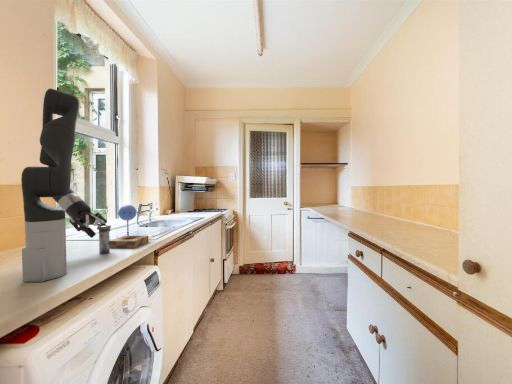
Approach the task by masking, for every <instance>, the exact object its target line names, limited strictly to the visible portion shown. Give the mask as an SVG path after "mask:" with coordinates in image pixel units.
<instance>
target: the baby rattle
mask: <svg viewBox="0 0 512 384" xmlns="http://www.w3.org/2000/svg"><path fill="white" fill-rule="evenodd" d="M117 214H118V217H119V219H121V220H122V221H126V228H127V229H126V231H127V232H126V236H130V232H129V221H132V220H133V219H135V217H136V216H137V208H135V206H134V205H132V204H124V205H122V206H121V207H120V208H119V209H118V212H117Z"/></svg>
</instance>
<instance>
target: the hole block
mask: <svg viewBox="0 0 512 384" xmlns="http://www.w3.org/2000/svg"><path fill="white" fill-rule="evenodd" d="M109 241H110V248H111V249H115V248H116V249H136V248H138V247H140V246H142V245H144V243H145V244H146V242H147V243H149V242H148V241H150V239H149V235H129V236H127V235H123V236H119V237H116V238H113V239H111V240H110V239H109Z"/></svg>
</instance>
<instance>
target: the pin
mask: <svg viewBox="0 0 512 384" xmlns="http://www.w3.org/2000/svg"><path fill="white" fill-rule="evenodd" d="M109 229H110V230H111V229H112V226H111V225H108V224H106V225H105V226H96V230H98V241H99V242H98V247H99V248H98V249H99V251H98V253H99V254H100V255H106V254H109V253H110V251H111V249H110V232H109ZM99 254H98V255H99Z"/></svg>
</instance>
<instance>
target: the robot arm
mask: <svg viewBox="0 0 512 384" xmlns="http://www.w3.org/2000/svg"><path fill="white" fill-rule="evenodd" d="M42 106H43V107H42V129H41V132H40V136H39V144H40V146H41V147H40V152H39V162H40V164H42V165H45V166H26V167H24V169H23V170H22V171H21V172H22V173H21V179H20V180H21V192H22V201H23V214H24V234H25V235H24V239H25V240H24V241H25V242H24V243H25V244H24V245H25V247H23V248H22V249H21V268H22V269H21V270H22V271H21V272H22V282H25V283H26V282H27V283H28V282H31V283H34V282H35V283H43V282H45V281H49V280H53V279H57V278H60V277H62V276H64V275H66V274H67V271H68V269H67V265H68V264H67V262H68V261H67V235H66V233H67V231H66V214H67V216H68V217H69V218H70V219H69V220H68V222H69V223H70V225H71V226H72V227H74V229H75V230H76V231H77V232H81V231H82V232H84V233H85V234H86V235H87V236H88V237H89V238H94V237H95V236H96V234H97V233H96V232H95V230H93V229H92V228H91V227H90V226H94V227H98V226H105V225H107V223H108V220H107V219H106V218H105V217H104V216H103V215H102V214H101V213H99V212H96V213H92V212H91V210H92V209H91V207H90V206H89V205H88V203H86V202H85V201H84V200H83V198H82V197H80V196H79V195H78V194H76V193H75V191H74V190H73V189H72V188H71V181H72V180H71V179H72V176H71V175H72V174H71V173H72V158H73V154H74V153H73V152H74V147H75V140H76V130H77V129H76V127H77V122H78V118H79V114H80V108H81V103H80V99H79V98H78V97H77V96H75V95H73V94H70V93H68V92H64V91H61V90H57V89H54V88H48V89H47V90H46V91H45V93H44V97H43V104H42ZM54 115H56V116H57V115H58V116H59V117H57V118H55V119H54ZM41 198H52V199H53V200H54V201H55V202H56V203H57V204H58V205H59V207H60V208H59V207H55V206H51V205H49V204H47V203H44V202H43V201H42V200H41ZM110 231H111V228H110V229H109V233H110Z"/></svg>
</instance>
